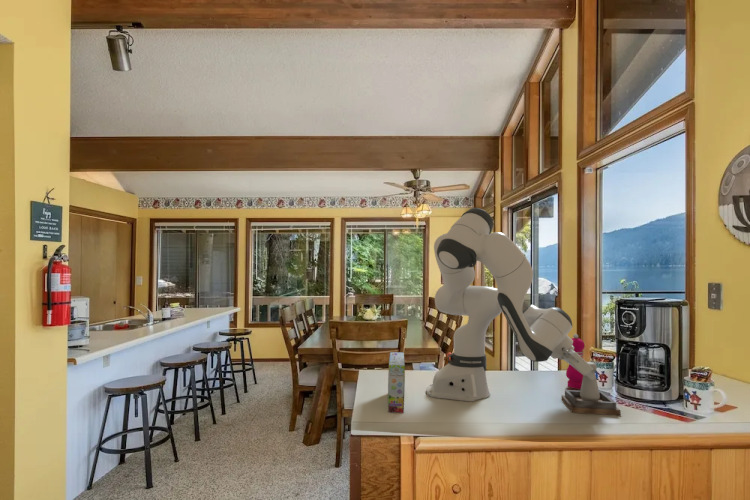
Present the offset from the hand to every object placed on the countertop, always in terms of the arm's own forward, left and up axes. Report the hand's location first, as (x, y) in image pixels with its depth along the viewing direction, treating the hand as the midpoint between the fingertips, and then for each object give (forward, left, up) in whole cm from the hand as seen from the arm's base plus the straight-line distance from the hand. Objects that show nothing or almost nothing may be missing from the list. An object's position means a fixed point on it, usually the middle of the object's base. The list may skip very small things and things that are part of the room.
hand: (591, 376), depth 139 cm
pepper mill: (+2, +25, -10) cm, 27 cm away
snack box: (-64, -5, -10) cm, 65 cm away
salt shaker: (-1, 0, -9) cm, 9 cm away
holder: (-1, 0, -10) cm, 10 cm away
